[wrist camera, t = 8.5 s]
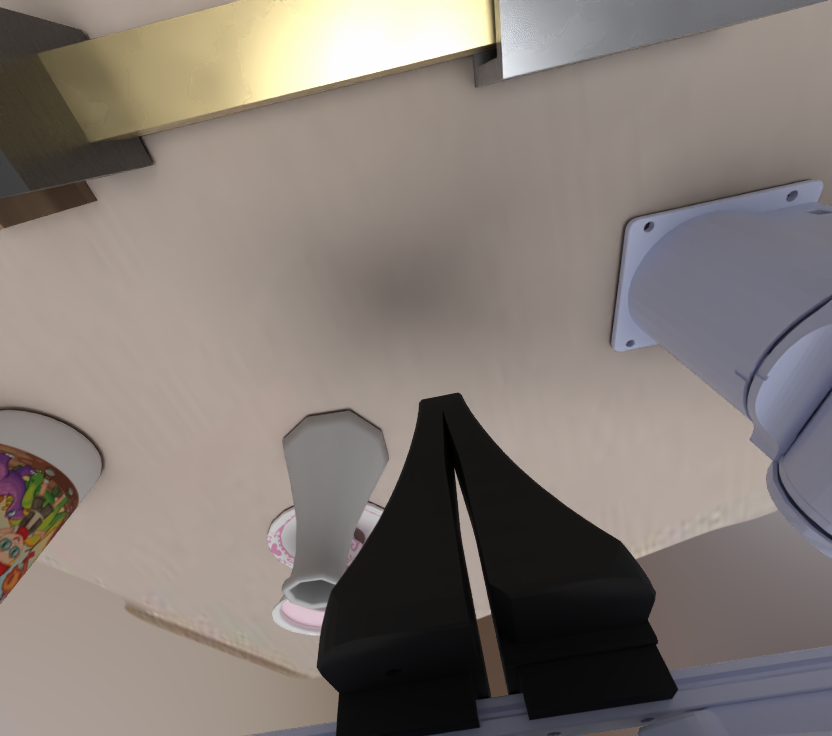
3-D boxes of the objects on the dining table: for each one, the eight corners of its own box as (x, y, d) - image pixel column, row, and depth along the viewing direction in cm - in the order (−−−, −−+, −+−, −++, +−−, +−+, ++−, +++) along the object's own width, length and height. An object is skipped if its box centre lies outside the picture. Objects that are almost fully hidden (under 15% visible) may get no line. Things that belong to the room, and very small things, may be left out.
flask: (264, 433, 26) (205, 585, 17) (354, 393, 24) (337, 537, 16) (324, 491, 29) (300, 637, 21) (405, 459, 28) (413, 603, 20)
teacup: (287, 577, 37) (272, 652, 31) (250, 502, 30) (222, 582, 25) (409, 564, 37) (412, 637, 32) (399, 488, 30) (402, 564, 25)
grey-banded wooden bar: (492, -79, 13) (575, -229, 7) (500, 81, 15) (566, 61, 10) (-55, 65, 14) (-349, 32, 8) (37, 192, 16) (-143, 232, 11)
